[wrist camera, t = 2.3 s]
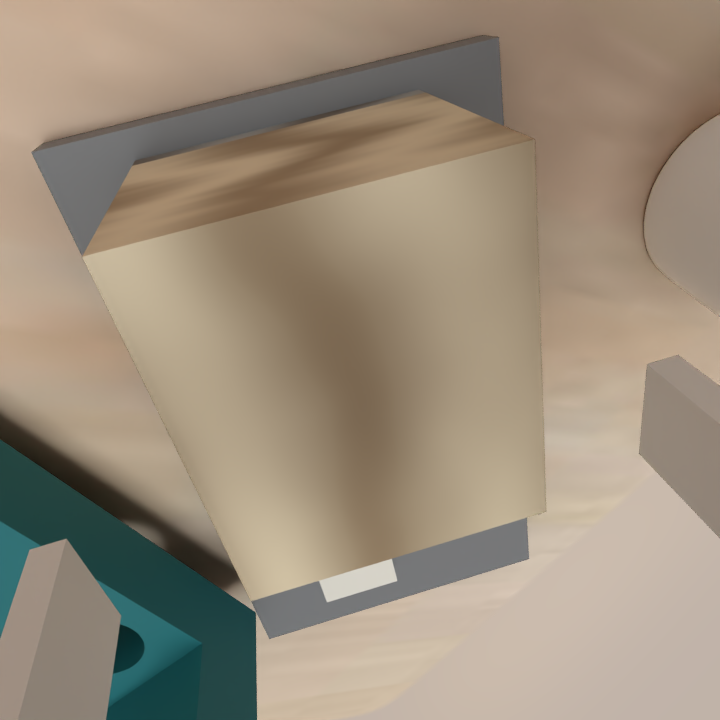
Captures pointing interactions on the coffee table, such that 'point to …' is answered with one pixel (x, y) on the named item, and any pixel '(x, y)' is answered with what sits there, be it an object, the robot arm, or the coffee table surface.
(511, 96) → the coffee table surface
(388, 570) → the white square tile
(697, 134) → the candle holder
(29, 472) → the teal l-shaped bracket
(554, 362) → the coffee table surface
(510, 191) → the block
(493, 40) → the board
